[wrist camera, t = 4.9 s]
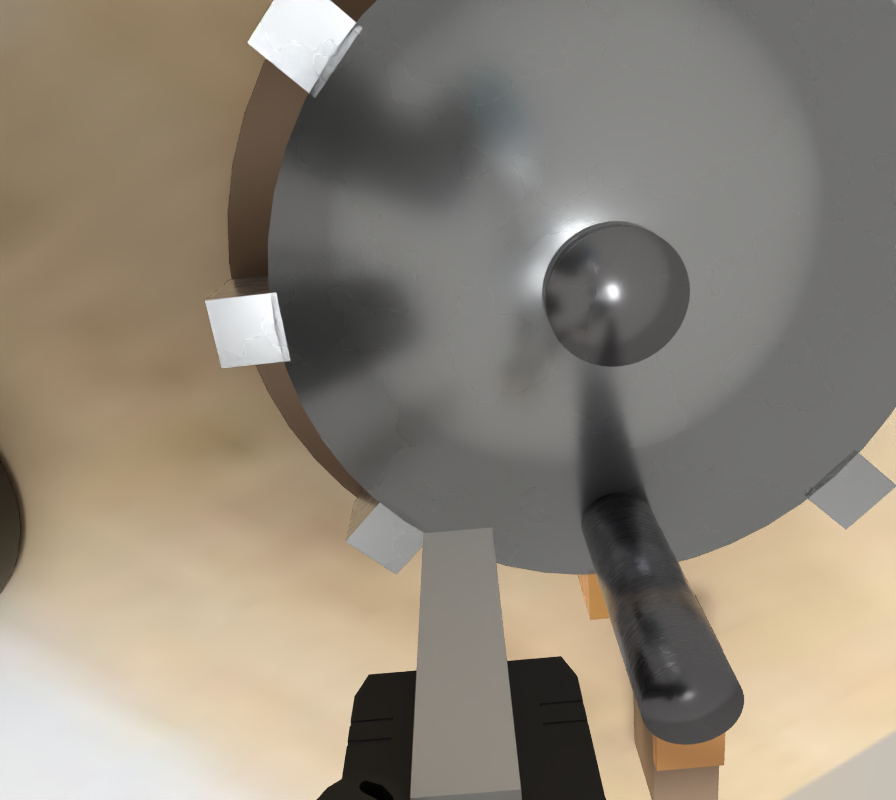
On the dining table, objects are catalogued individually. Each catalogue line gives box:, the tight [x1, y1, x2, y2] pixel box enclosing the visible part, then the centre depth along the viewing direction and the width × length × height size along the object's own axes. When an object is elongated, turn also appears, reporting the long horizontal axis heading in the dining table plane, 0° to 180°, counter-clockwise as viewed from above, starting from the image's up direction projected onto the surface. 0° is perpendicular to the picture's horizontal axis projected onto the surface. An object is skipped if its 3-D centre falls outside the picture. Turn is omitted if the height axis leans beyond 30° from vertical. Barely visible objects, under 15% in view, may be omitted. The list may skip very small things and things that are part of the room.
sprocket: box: [205, 0, 896, 745], centre depth 14 cm, size 18×18×8 cm
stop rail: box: [634, 596, 725, 800], centre depth 23 cm, size 6×2×3 cm, turn 7°
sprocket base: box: [228, 0, 377, 497], centre depth 19 cm, size 18×18×1 cm
